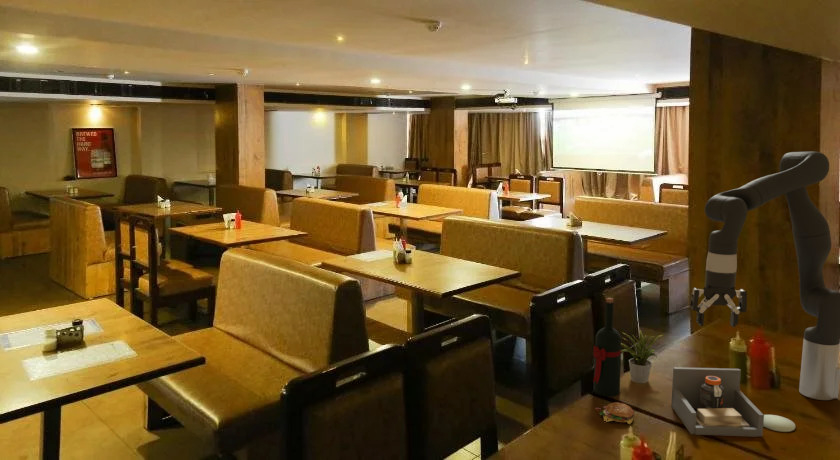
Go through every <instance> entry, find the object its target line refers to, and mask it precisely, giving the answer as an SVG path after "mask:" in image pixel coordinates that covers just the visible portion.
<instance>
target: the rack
mask: <svg viewBox="0 0 840 460" xmlns="http://www.w3.org/2000/svg"><path fill="white" fill-rule="evenodd" d="M741 372H742V370H741V369H740V368H728V367H727V368H722V367H721V368H717V367H685V366H684V367H679V366H677V367H676V366H674V367H673V369H672V386H671V388H672V389H671V407H672V409H673V410H674V412H675V414H676V415H677V416H678V418H679V419H680V421H681V423H682V424H683V425H684V426H685V428H686V430H687V431H688V432H689V434H691V435H699V436H700V435H701V436H723V437H725V436H726V437H727V436H728V437H751V438H752V437H754V438H755V437H763V433H764V427H763V422H764V415H765V414H763V412H761V410H760V409H759V408H758V407H757V406H756V405H755V404H754V403H753V402H752V401H751V400H750V399H749V398H748V397H747V396H746V395H745V394H744V393H743V392H742V391H741V389H740V388H741V374H742V373H741ZM706 376H715V377H718V378H720V379H721V384H720V385H721V386H722V387H723V388H724V398H723V408H734V409H735V410H736V411H737V412H738V413H739V414H740V415H742V418H743V419H744V420H745V421H746V422H747V423H748V424H749V425H750V427H725V426H696V417H697V411H696V410H695V409H700V396H701V385H702V384H703V383H705V378H706Z"/></svg>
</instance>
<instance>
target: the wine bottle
mask: <svg viewBox="0 0 840 460" xmlns="http://www.w3.org/2000/svg"><path fill="white" fill-rule="evenodd" d="M614 299H615V298H613V297H606V298H605V300H606V302H605V318H604V319H605V321H604V322H605V324H604V327H602V328H601V329H599V330H598V331H597V332H596V335H595V342H594V343H595V345H594V346H593V351H592V352H593V359H594V365H593V366H594V367H593V370H594V372H593V380H592V383H593V388H592V390H593V392H594V393H595V394H597V395H599V396H601V397H616V396H619V395H620V393H621V390H620V389H621V368H622V367H621V365H622V364H621V363H622V362H621V360H622V358H621V357H622V351H621V350H622V345H621V343H622V336H621V334H620V333H619V331H618V330H617V329H616V328H614V326H613V325H614V323H613V322H614V321H613V320H614Z"/></svg>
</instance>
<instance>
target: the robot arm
mask: <svg viewBox="0 0 840 460" xmlns="http://www.w3.org/2000/svg"><path fill="white" fill-rule="evenodd" d="M829 171H830V161H829V159H828V157H827V156H826V155H825V154H824V153H822V152H820V151H814V150H813V151H791V152H787V153H784V155H783V156H782V157H781V160H780V162H779V172H776V173H773V174H768V175H765V176H762V177H759V178H757V179H754V180H751V181H750V182H747V183H746V184H744V185H742V186H740V187H738V188H734V189H730V190H727V191H723V192H719V193H717V194H715V195H713V196H712V197H710V198H709V199H708V200H707V201H706V203H705V205H704V213H705V216H707V218H708V219H710V220H712V221H715V222H719V223H720V222H721V223H723V226H722V228H721V229H719V230H714V231H711V233H710V234H709V239H708V250H707V257H706V261H705V262H706V264H705V265H706V266H705V277H704V288H703V289H701V288H697V287H692V288H691V295H690V303H689V308H690V309H691V310H693V311H695V312H696V318H695V319H696V320H695V321H696V323H697V324H698V326H701V327H703V326H704V322H705V320H704V319H705V313H704V312H705V311H706V310H707V309H708V308H710V307H711V306H712V305H713V306H728V308H729V309H730V310H731V312H730V320H729V325H730V326H731V327H732V328H735V327H736V326H738V324H739V314H741V313H746V312H747V309H748V304H747V303H748V292H747V290H744V289H743V288H740V289H738V290H736V288H735V287H736V279H737V270H738V266H737V265H738V259H737V256H738V255H737V254H738V242H739V237H740V236H741V235H740V234H741V232H742V230H743V227H744V225H745V222H746V219H747V217H748V212H750V211H753V210H755V209H757V208H759V207H761V206H763V205H765V204H766V203H769V202H770V201H772V200H774V199H777V198H778V197H782V196H783V195H785V197H786V202H787V205H788V209H789V210H788V211H789V215H790V221H791V228H792V235H793V242H794V248H795V254H796V259H797V268H798V277H799V279H798V280H799V301H800V305H801V307H802V310H803V311H805V313H806V314H808V315H810V316H812V317H815V318H817V320H816V325H815V326H810V327H807V328H805V330H804V332H803V341H802V354H801V364H800V376H799V384H798V385H799V386H798V388H799V389H798V391H799V393H800V394H801V395H803V396H805V397H806V398H810V399H813V400H820V401H831V400H834V399H838V398H839V389H840V367H839V355H840V291H837V290H835V289H830V288H828V287H826V284H825V282H824V281H825V280H824V274H823V273H824V272H823V270H824V266H825V264H826V261H827V260H828V257H829V255H830V253H831V249H832V237H831V230H830V226H829V223H828V220H827V219H826V217H825V216H824V215H823V214H822V212H821V211H820V210H819V208H818V207H817V206H816V204H815V203H814V202H813V201H812V200H811V198H810V196H809V192H808V189H807V186H811V185H815V184H818V183H820V182H822V181H823V180H824V179H826V177H827V176H828V175H829ZM702 295H703V296H704V298H703V299H702V300H701V301H700V303H699V299H700V297H701V296H702ZM735 297H737V298H738V306H736V304H735V303H734V301H733V299H734V298H735Z"/></svg>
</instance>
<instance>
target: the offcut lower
mask: <svg viewBox="0 0 840 460" xmlns="http://www.w3.org/2000/svg"><path fill="white" fill-rule="evenodd" d="M696 426H725V427H750V425H749V424H748V423H747V422H746V421H745V420H744V419H743V418H742V419H741V424H730V425H704V424H703V423H702V422H701V421H700V420H699V419H698V418H697V416H696Z"/></svg>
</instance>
